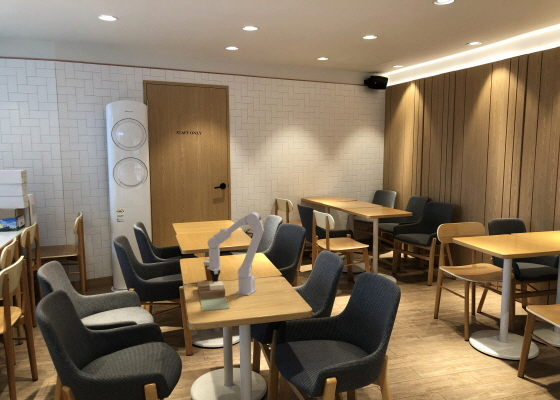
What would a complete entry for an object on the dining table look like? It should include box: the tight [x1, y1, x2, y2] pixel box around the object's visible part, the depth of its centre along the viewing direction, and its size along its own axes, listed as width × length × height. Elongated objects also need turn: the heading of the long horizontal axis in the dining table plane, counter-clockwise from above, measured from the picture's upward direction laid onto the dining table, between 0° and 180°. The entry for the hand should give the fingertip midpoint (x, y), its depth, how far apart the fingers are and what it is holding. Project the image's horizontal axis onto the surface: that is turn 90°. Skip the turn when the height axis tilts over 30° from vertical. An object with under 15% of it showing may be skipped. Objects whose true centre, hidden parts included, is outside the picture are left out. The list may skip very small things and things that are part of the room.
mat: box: [199, 296, 230, 312], centre depth 215 cm, size 17×13×1 cm
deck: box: [197, 279, 226, 300], centre depth 232 cm, size 20×13×4 cm, turn 14°
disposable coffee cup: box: [203, 258, 212, 281], centre depth 256 cm, size 10×10×12 cm
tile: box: [209, 280, 225, 290], centre depth 228 cm, size 7×7×2 cm
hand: (215, 283), depth 234 cm, fingers closed
